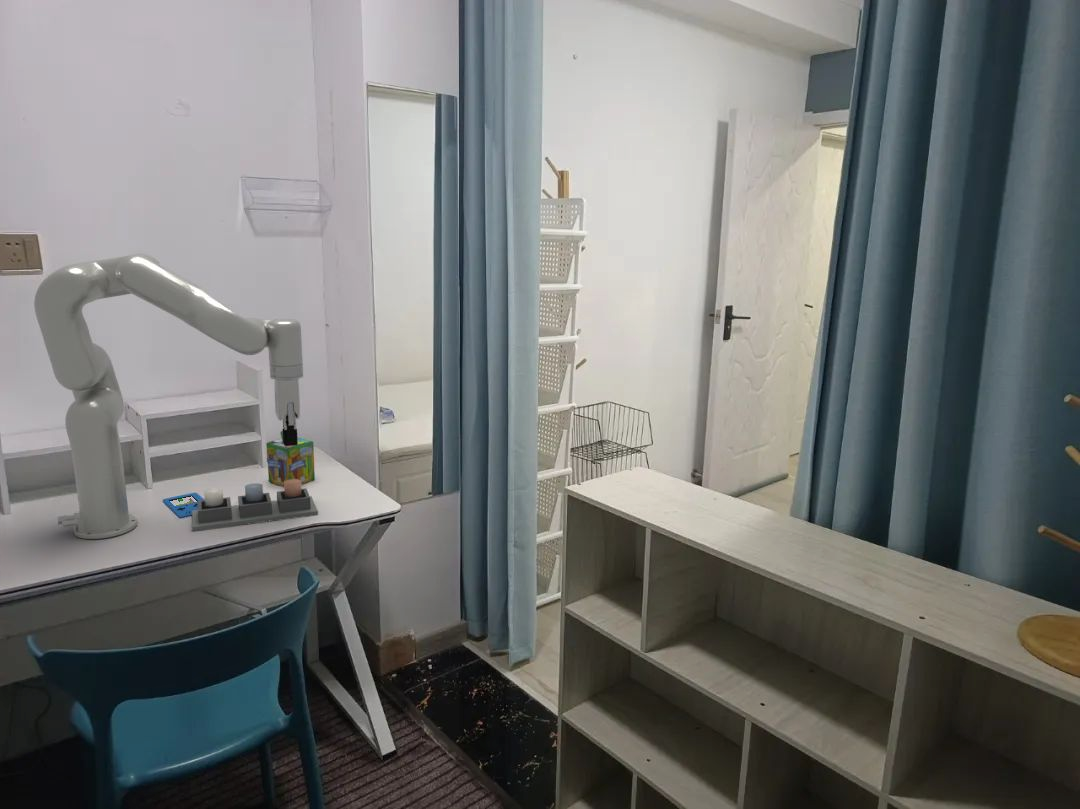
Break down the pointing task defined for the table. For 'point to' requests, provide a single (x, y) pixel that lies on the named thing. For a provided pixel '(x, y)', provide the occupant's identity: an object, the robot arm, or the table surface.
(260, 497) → the slate key
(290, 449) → the chalk box
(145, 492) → the table surface
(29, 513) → the table surface
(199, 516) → the grey socket tray
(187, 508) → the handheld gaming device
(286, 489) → the terracotta key
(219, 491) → the ivory key
